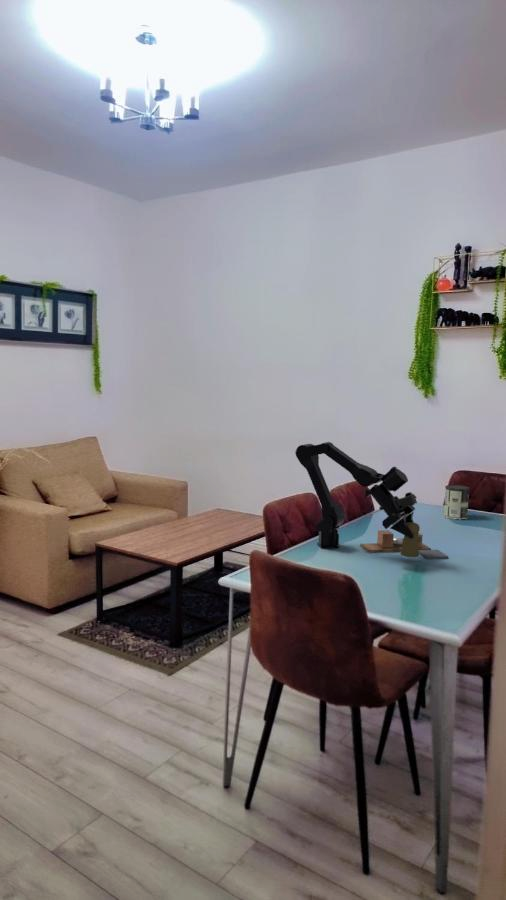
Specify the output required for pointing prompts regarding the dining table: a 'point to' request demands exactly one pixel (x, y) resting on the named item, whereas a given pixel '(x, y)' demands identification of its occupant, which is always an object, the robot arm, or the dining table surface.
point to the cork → (411, 541)
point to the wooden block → (388, 539)
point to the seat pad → (432, 554)
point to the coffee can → (456, 502)
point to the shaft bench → (396, 548)
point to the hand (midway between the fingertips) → (415, 536)
